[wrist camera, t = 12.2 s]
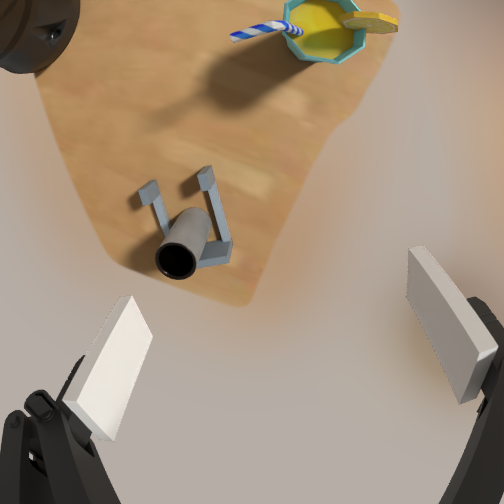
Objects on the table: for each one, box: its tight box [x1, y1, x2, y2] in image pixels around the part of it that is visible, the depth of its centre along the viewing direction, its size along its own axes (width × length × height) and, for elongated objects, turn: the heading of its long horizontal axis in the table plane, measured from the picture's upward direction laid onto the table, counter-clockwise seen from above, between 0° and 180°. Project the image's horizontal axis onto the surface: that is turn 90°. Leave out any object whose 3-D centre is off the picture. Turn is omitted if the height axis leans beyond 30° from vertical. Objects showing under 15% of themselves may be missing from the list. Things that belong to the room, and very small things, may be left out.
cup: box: [230, 0, 398, 64], centre depth 24 cm, size 14×8×15 cm, turn 107°
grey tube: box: [155, 207, 212, 280], centre depth 37 cm, size 4×4×10 cm
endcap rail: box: [138, 165, 233, 269], centre depth 39 cm, size 11×8×5 cm
